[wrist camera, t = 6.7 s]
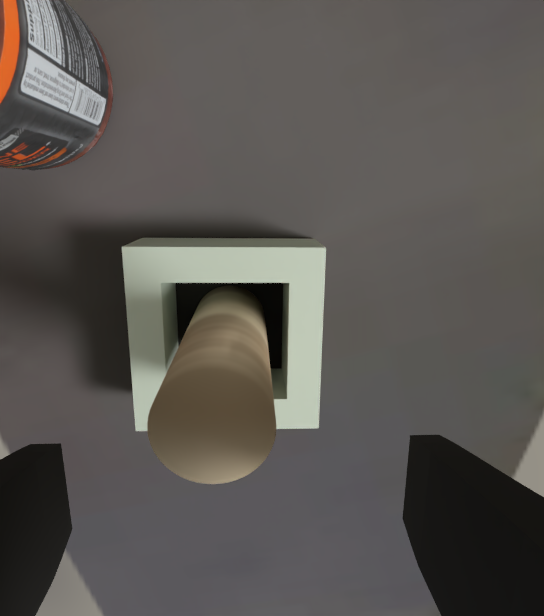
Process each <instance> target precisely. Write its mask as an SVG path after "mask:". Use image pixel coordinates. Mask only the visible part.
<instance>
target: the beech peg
mask: <svg viewBox="0 0 544 616" xmlns="http://www.w3.org/2000/svg"><path fill="white" fill-rule="evenodd" d="M147 431H148V437H149V441H150V444H151V446H152V448H153V450H154V452H155V454H156V455H157V457H158V459H159V460H160V461H161V462H162V463H163V464H164V465H165V466H166V467H167V468H168V469H169V470H171V471H172V472H174V473H175V474H177V475H179V476H181V477H182V478H185V479H187V480H190V481H194V482H198V483H204V484H221V483H227V482H231V481H235V480H238V479H240V478H242V477H244V476H246V475H248V474H249V473H251V472H253V471H254V470H255V469H256V468H258V467H259V466H260V465H261V464H262V463H263V461H264V460H265V459H266V457H267V456H268V455H269V453H270V451H271V449H272V446H273V444H274V441H275V436H276V416H275V407H274V397H273V388H272V378H271V369H270V360H269V350H268V341H267V332H266V322H265V314H264V310H263V307H262V305H261V303H260V301H259V300H258V299H257V298H256V296H255V295H253V294H252V293H251V292H249V291H248V290H246V289H244V288H241V287H238V286H222V287H218V288H215V289H213V290H211V291H210V292H208V293H207V294H206V295H205V296H204V297H203V298H202V299H201V301H200V302H199V304H198V306H197V309H196V311H195V313H194V315H193V317H192V319H191V322H190V324H189V326H188V328H187V330H186V332H185V334H184V337H183V339H182V341H181V343H180V345H179V347H178V350H177V352H176V354H175V356H174V358H173V360H172V363H171V365H170V367H169V369H168V371H167V373H166V376H165V378H164V380H163V382H162V384H161V386H160V389H159V391H158V393H157V395H156V397H155V399H154V402H153V404H152V406H151V408H150V412H149V415H148V422H147Z"/></svg>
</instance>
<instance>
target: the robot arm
mask: <svg viewBox="0 0 544 616" xmlns="http://www.w3.org/2000/svg"><path fill="white" fill-rule="evenodd" d="M403 521H404V524H405V527H406V530H407V533H408V537H409V540H410V543H411V546H412V549H413V552H414V554H415V557H416V560H417V563H418V566H419V568H420V571H421V573H422V575H423V577H424V579H425V582H426V584H427V586H428V588H429V590H430V592H431V594H432V597H433V599H434V601H435V603H436V605H437V607H438V609H439V612H440V614H441V616H544V497H542V496H541V495H539V494H537V493H535V492H534V491H532V490H530V489H529V488H527V487H525V486H524V485H522V484H520V483H519V482H517V481H515V480H514V479H512V478H511V477H509V476H507V475H506V474H504V473H502V472H501V471H499V470H498V469H496V468H494V467H493V466H491V465H489V464H488V463H486V462H485V461H483V460H481V459H480V458H478V457H477V456H475V455H473V454H472V453H470V452H468V451H467V450H465V449H464V448H462V447H460V446H459V445H457V444H455V443H453V442H452V441H450V440H448V439H446V438H444V437H442V436H440V435H410V444H409V455H408V466H407V477H406V488H405V499H404V509H403ZM71 531H72V524H71V516H70V509H69V501H68V494H67V486H66V479H65V471H64V463H63V456H62V448H61V444H30V445H28V446H26V447H23V448H21V449H19V450H17V451H15V452H14V453H12V454H10V455H8V456H6V457H5V458H3V459H1V460H0V616H35V615H36V613H37V611H38V609H39V607H40V605H41V603H42V602H43V599H44V597H45V595H46V594H47V592H48V589H49V587H50V586H51V584H52V581H53V579H54V576H55V574H56V572H57V569H58V566H59V564H60V561H61V559H62V556H63V553H64V550H65V548H66V545H67V542H68V539H69V536H70V534H71Z"/></svg>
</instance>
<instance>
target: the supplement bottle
mask: <svg viewBox="0 0 544 616" xmlns="http://www.w3.org/2000/svg"><path fill="white" fill-rule="evenodd" d="M112 101H113V87H112V78H111V73H110V69H109V65H108V62H107V59H106V56H105V54H104V52H103V50H102V48H101V46H100V44H99V42H98V40H97V39H96V37H95V36H94V35H93V33H92V32H91V30H90V29H89V28H88V26H87V25H86V24H85V22H84V21H83V20H82V19H81V18H80V16H79V15H78V14H77V13H76V12H75V11H74V10H73V9H72V8H71V7H70V6H69V5H68V4H67V3H66V2H65V0H0V167H5V168H16V169H29V170H38V169H50V168H54V167H59V166H62V165H65V164H68V163H70V162H72V161H75V160H76V159H78V158H79V157H81V156H83V155H84V154H85V153H87V152H88V151H89V150H90V149H91V148H92V147H94V146H95V145H96V143H97V142H98V140H99V139H100V137H101V136H102V134H103V132H104V130H105V128H106V125H107V122H108V119H109V117H110V112H111V107H112Z"/></svg>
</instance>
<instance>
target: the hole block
mask: <svg viewBox="0 0 544 616" xmlns="http://www.w3.org/2000/svg"><path fill="white" fill-rule="evenodd" d="M122 258H123V271H124V284H125V297H126V310H127V323H128V336H129V349H130V363H131V376H132V389H133V402H134V415H135V428H136V431H147V422H148V415H149V412H150V408H151V406H152V404H153V402H154V399H155V397H156V395H157V393H158V391H159V389H160V386H161V384H162V382H163V380H164V378H165V376H166V373H167V371H168V369H169V367H170V365H171V363H172V360H173V358H174V356H175V354H176V352H177V350H178V347H179V346H178V325H177V303H176V283H283V316H282V369H271V378H272V388H273V397H274V407H275V416H276V429H301V428H319V405H320V381H321V356H322V332H323V308H324V283H325V259H326V247H324V246H323V245H322V244H320V243H319V242H318V241H316V240H315V239H294V238H141V239H138V240H136V241H134V242H131V243H129V244H127V245H125V246H122Z"/></svg>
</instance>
